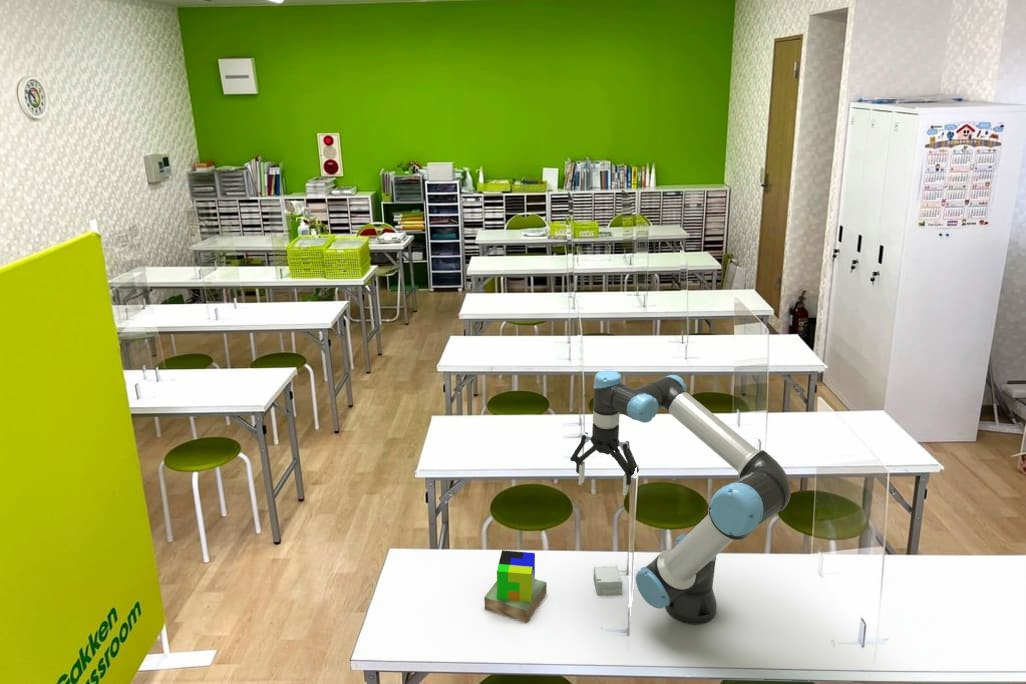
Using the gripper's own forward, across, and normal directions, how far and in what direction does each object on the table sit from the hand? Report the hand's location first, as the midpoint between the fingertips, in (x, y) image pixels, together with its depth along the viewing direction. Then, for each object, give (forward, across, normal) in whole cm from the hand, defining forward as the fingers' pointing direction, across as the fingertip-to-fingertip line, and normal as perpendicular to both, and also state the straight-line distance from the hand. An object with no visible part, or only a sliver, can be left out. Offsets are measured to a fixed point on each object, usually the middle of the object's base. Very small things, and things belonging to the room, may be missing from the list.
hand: (603, 488), depth 226 cm
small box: (+35, -3, 0) cm, 35 cm away
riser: (+35, +20, +18) cm, 44 cm away
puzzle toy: (+31, +20, +18) cm, 41 cm away
